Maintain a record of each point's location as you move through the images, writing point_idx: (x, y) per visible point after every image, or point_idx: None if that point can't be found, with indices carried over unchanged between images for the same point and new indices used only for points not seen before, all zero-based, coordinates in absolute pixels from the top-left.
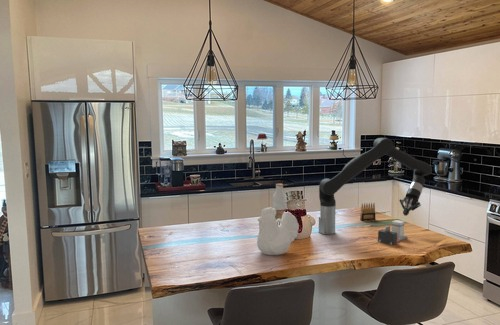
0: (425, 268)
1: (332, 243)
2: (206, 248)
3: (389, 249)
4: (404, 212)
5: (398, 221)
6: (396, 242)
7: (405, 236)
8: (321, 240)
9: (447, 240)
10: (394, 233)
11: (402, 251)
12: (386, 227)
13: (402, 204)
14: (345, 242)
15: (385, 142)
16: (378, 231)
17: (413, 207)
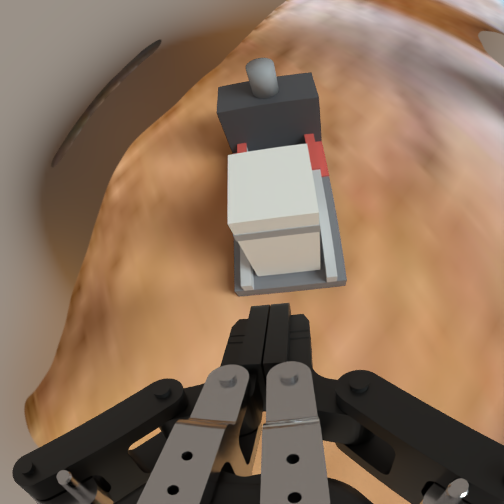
0: (100, 99)
1: (413, 47)
2: None
3: None
4: (275, 310)
5: (268, 182)
6: (232, 149)
7: (241, 268)
8: (454, 51)
9: None
10: (220, 95)
11: (186, 133)
12: (260, 60)
13: (390, 411)
14: (404, 70)
15: None
16: (309, 74)
17: (133, 402)
